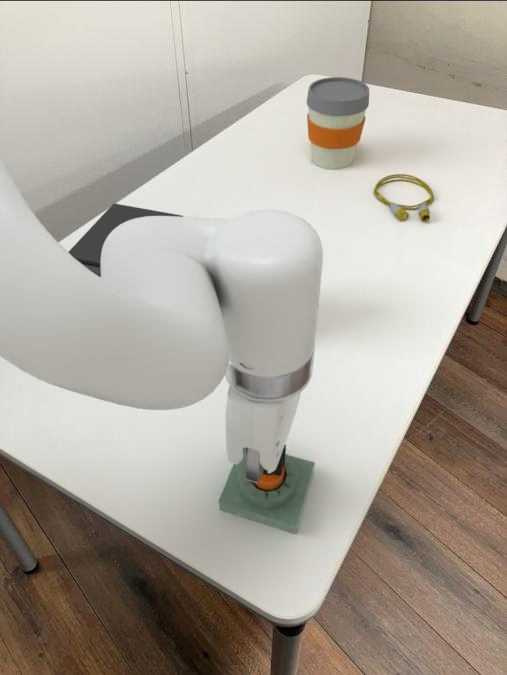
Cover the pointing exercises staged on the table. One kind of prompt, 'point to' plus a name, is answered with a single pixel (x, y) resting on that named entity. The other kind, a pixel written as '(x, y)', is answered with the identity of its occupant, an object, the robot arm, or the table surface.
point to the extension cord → (399, 209)
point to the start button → (270, 481)
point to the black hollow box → (107, 231)
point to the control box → (269, 495)
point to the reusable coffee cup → (336, 120)
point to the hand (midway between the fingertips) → (269, 466)
